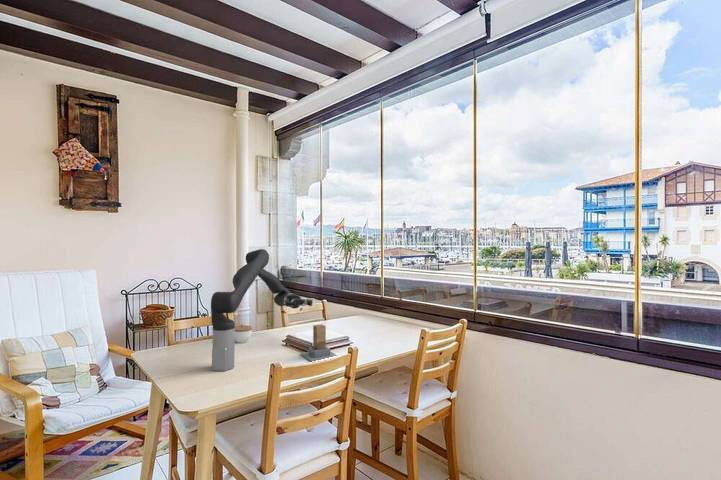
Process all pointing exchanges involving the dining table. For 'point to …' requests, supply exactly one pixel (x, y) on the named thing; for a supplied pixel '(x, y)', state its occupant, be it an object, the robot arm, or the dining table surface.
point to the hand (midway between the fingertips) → (303, 304)
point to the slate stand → (317, 354)
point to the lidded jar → (242, 333)
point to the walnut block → (319, 337)
